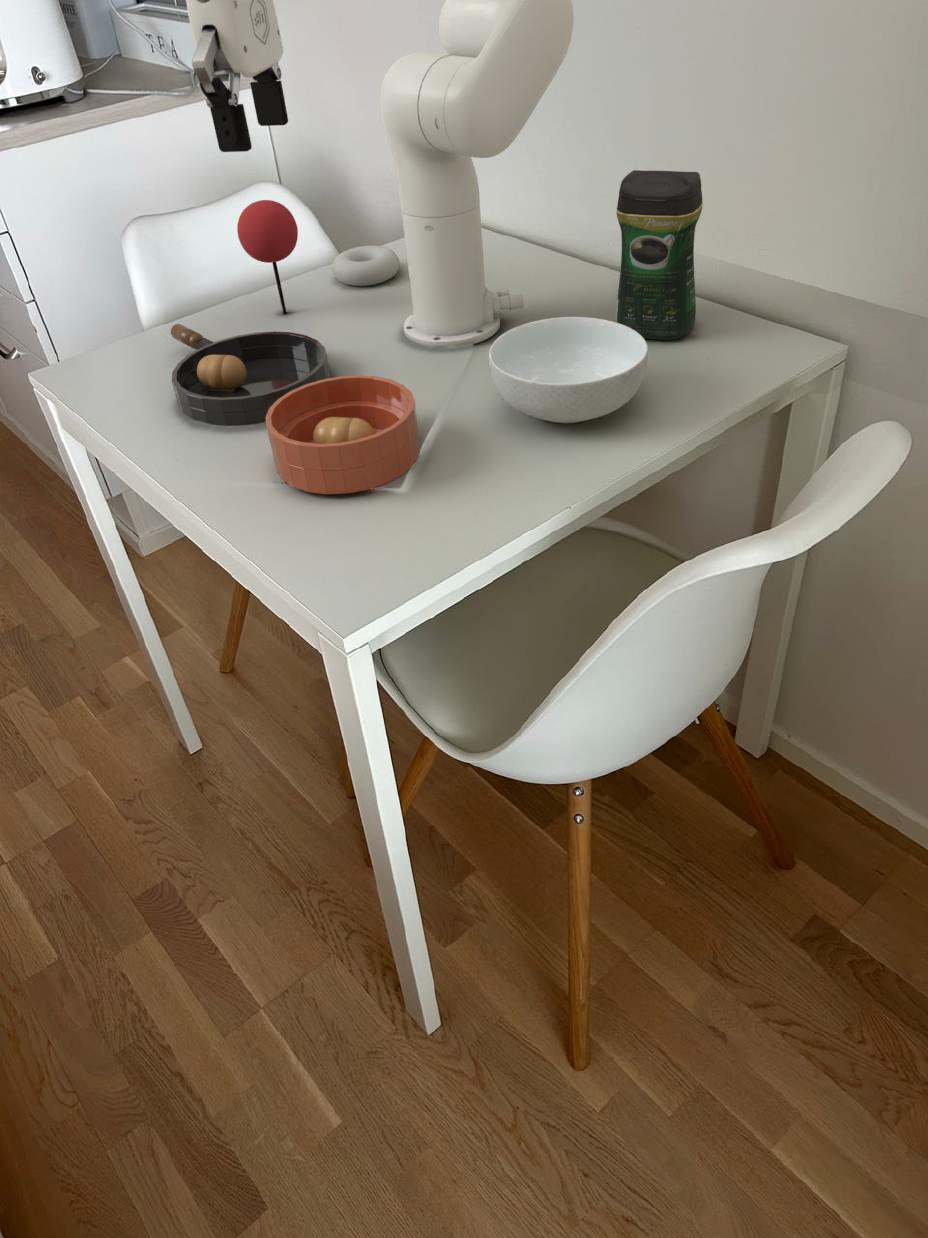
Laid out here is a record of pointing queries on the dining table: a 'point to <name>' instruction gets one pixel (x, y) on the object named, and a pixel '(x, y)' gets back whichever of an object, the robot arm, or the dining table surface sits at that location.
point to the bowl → (351, 460)
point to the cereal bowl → (568, 367)
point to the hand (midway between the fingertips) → (255, 137)
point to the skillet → (250, 376)
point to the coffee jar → (658, 252)
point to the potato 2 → (341, 430)
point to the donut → (365, 265)
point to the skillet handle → (189, 337)
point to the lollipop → (268, 234)
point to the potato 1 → (221, 372)
